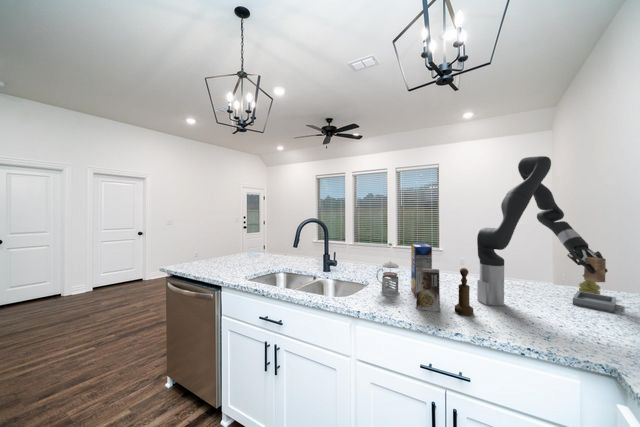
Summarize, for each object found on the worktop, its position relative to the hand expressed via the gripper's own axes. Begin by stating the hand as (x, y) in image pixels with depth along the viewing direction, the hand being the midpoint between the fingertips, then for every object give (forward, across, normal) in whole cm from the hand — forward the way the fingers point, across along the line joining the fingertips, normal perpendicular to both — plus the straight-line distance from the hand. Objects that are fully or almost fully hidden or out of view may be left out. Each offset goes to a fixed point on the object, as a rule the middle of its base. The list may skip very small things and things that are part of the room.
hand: (599, 272), depth 112 cm
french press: (-4, -85, +25) cm, 89 cm away
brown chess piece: (+14, -62, +6) cm, 64 cm away
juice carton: (-4, -69, +24) cm, 73 cm away
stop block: (+2, 0, +4) cm, 5 cm away
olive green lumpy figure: (-1, +13, +22) cm, 25 cm away
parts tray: (+9, 0, +12) cm, 15 cm away
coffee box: (+10, -74, +11) cm, 75 cm away
